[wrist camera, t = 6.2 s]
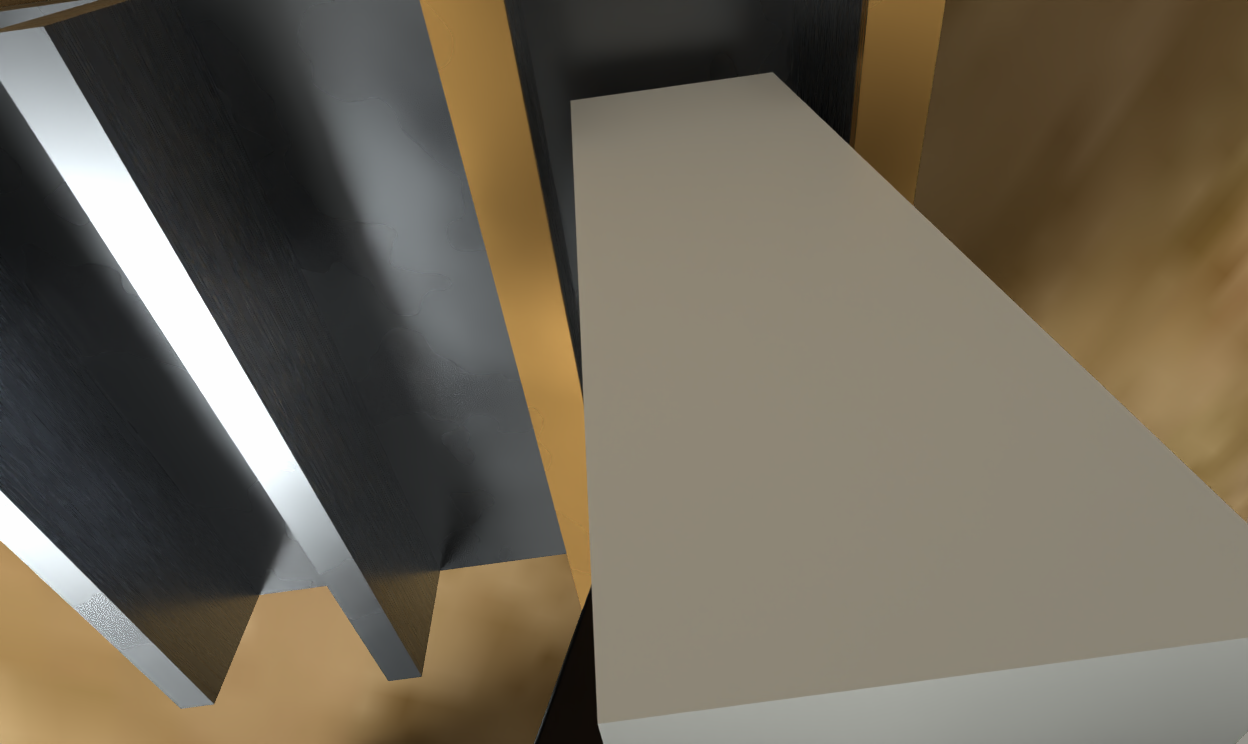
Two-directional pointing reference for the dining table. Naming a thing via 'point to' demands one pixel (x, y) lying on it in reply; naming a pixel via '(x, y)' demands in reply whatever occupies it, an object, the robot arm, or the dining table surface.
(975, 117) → the dining table surface
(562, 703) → the robot arm
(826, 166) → the panel
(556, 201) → the rack
